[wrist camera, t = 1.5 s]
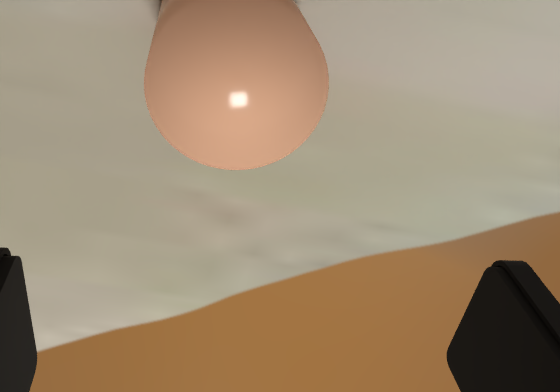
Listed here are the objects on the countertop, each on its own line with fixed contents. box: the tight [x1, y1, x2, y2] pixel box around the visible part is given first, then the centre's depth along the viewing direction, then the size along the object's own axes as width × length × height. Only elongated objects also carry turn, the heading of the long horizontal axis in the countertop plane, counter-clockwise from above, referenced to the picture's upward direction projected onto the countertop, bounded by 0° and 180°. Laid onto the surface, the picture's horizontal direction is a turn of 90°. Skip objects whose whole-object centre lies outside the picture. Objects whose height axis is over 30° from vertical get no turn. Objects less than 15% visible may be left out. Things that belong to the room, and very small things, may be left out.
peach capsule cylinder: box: [144, 0, 329, 170], centre depth 23 cm, size 7×7×9 cm
